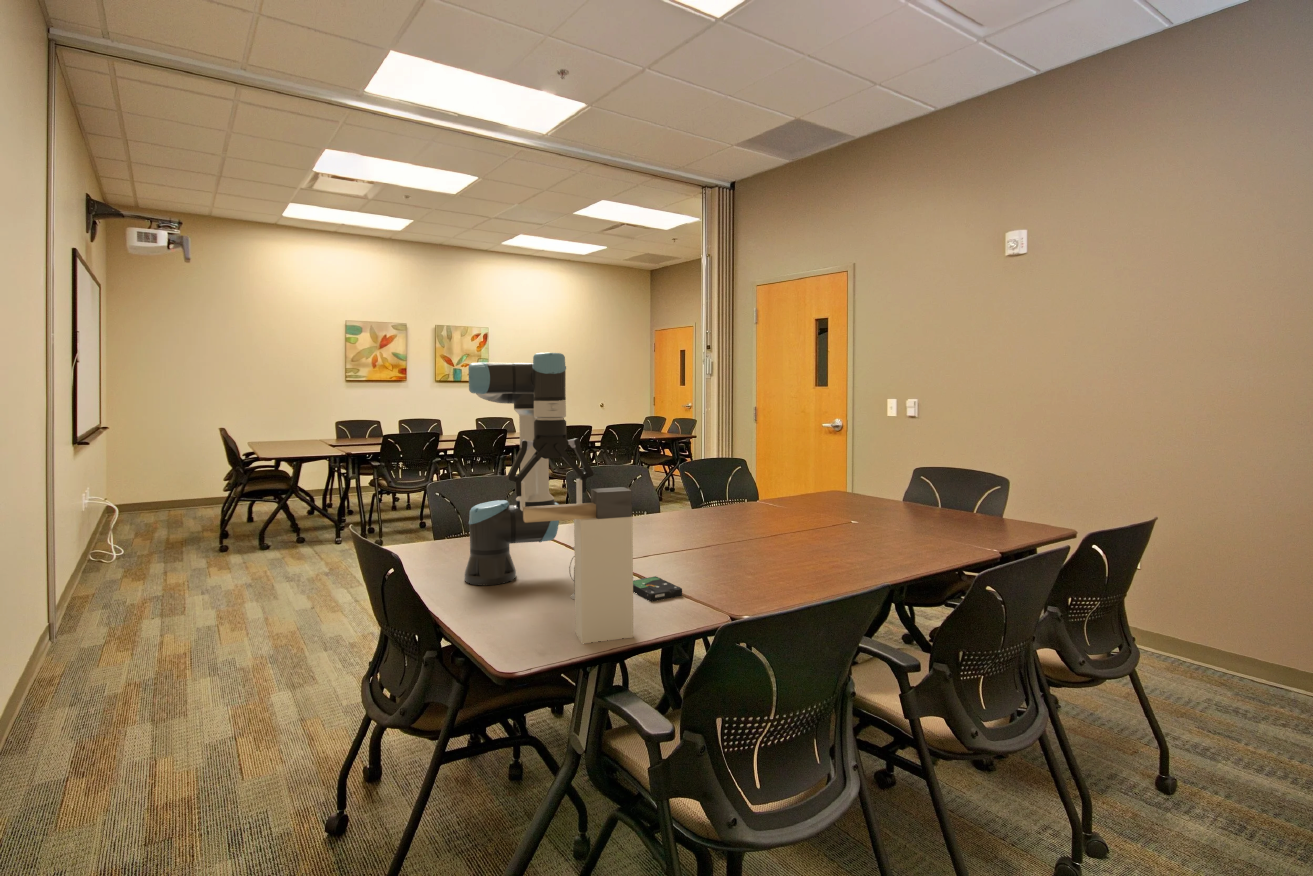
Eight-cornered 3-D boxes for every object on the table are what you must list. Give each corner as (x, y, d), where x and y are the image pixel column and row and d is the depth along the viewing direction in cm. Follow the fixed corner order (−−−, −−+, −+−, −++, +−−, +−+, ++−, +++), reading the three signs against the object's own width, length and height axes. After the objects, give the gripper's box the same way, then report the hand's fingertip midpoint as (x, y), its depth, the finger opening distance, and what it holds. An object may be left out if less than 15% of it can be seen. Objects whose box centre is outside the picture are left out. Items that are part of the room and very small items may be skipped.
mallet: (522, 519, 153) (521, 492, 153) (624, 512, 161) (624, 487, 161) (526, 523, 148) (525, 496, 147) (631, 516, 156) (631, 490, 155)
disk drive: (683, 598, 189) (655, 584, 202) (683, 588, 189) (656, 575, 201) (650, 604, 184) (625, 589, 196) (650, 594, 183) (625, 580, 196)
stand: (575, 633, 160) (573, 515, 158) (624, 627, 164) (623, 512, 162) (582, 643, 153) (580, 520, 151) (633, 637, 157) (632, 517, 155)
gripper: (498, 420, 153) (500, 514, 154) (605, 418, 161) (606, 507, 163) (494, 419, 160) (495, 509, 161) (597, 417, 168) (597, 502, 170)
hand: (551, 508), depth 162 cm, fingers open, 13 cm apart
